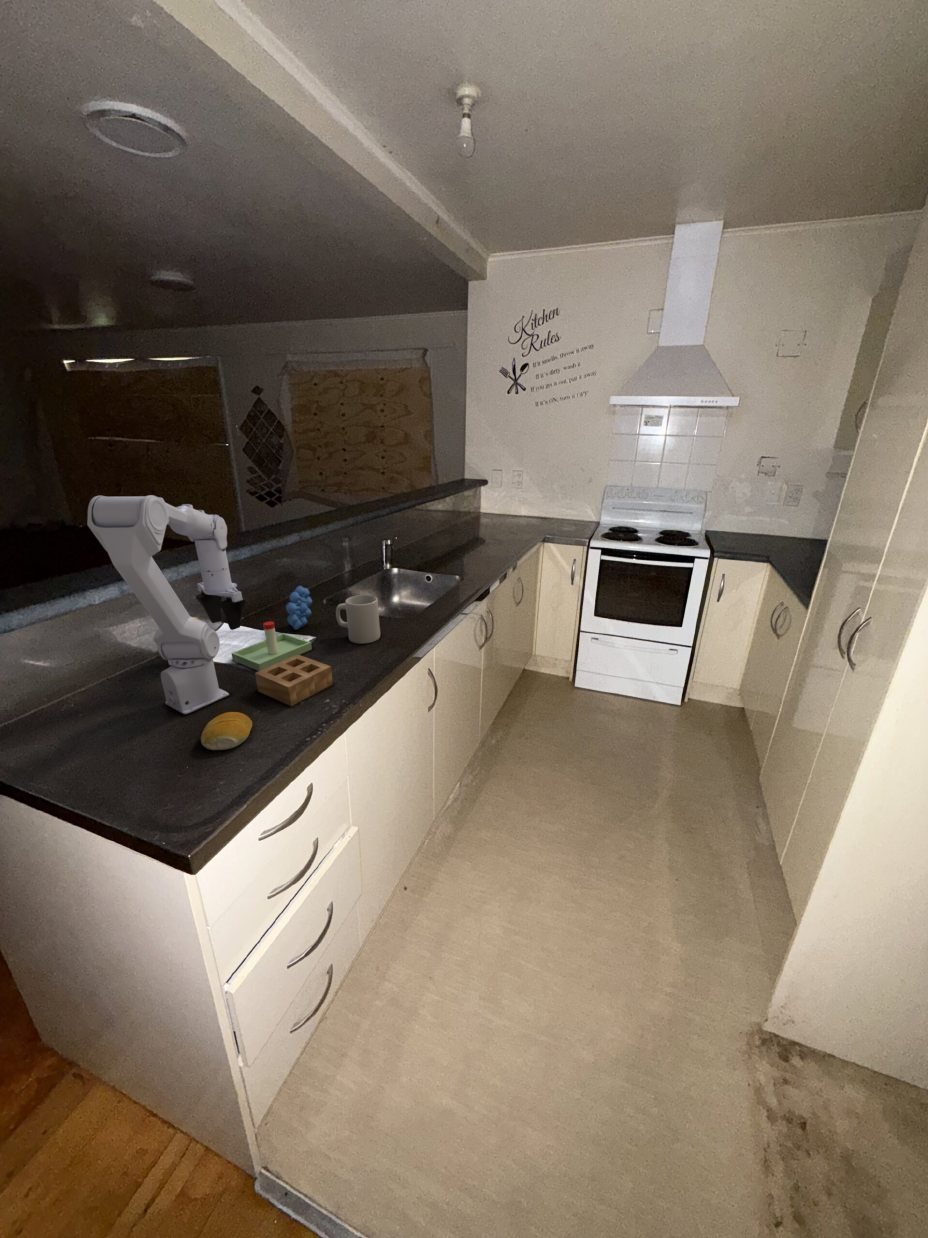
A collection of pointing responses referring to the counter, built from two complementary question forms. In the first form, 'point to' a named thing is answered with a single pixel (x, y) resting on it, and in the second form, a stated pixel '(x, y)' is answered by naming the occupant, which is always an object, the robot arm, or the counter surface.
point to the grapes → (299, 607)
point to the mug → (361, 618)
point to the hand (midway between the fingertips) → (225, 625)
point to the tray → (260, 658)
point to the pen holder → (294, 679)
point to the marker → (270, 637)
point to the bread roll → (226, 731)
